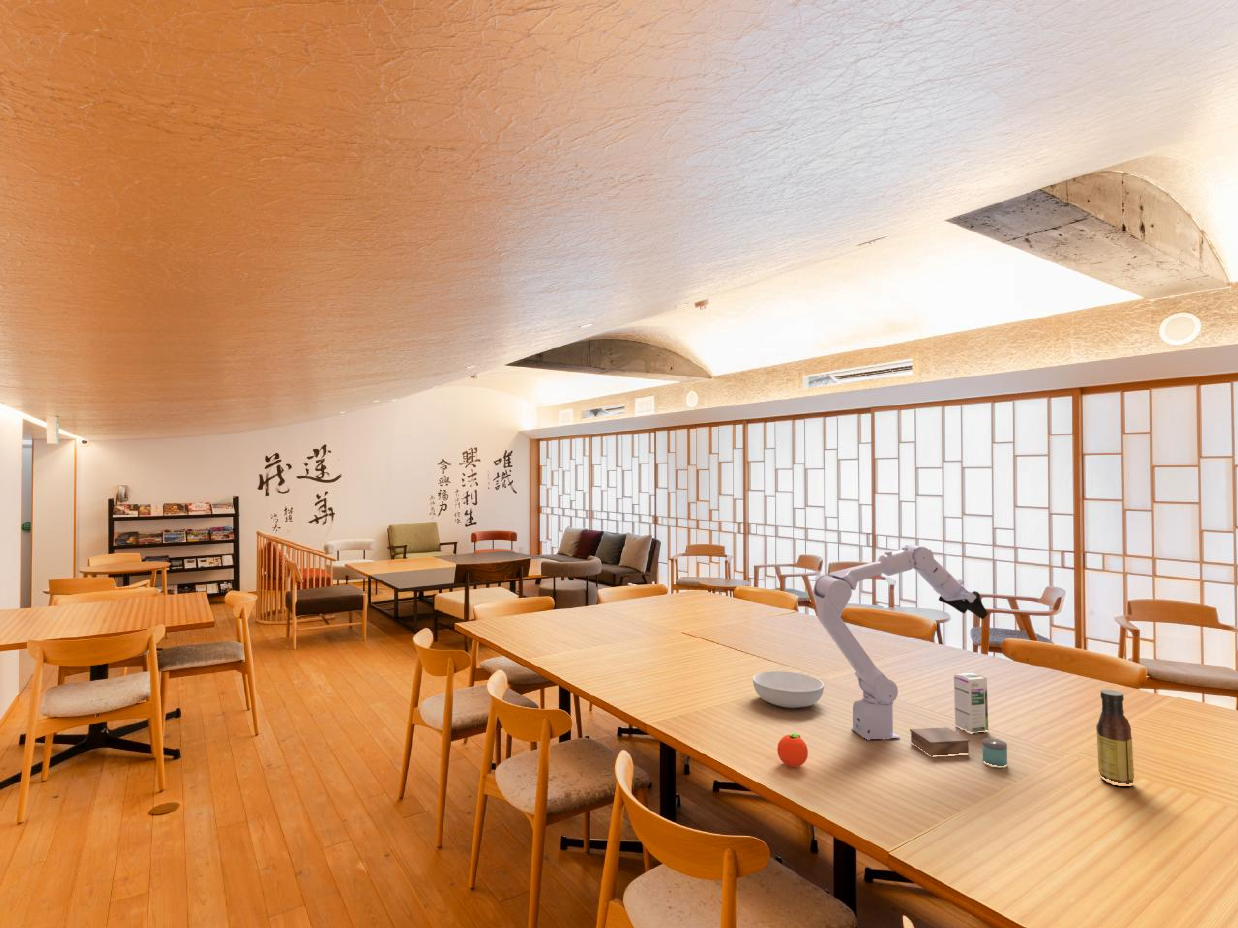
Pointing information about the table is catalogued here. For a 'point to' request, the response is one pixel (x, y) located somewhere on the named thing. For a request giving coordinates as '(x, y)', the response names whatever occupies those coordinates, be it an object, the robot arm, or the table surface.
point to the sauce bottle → (1114, 740)
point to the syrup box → (971, 702)
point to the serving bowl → (788, 688)
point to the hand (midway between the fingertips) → (975, 613)
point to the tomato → (792, 750)
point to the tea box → (939, 741)
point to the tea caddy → (994, 751)
